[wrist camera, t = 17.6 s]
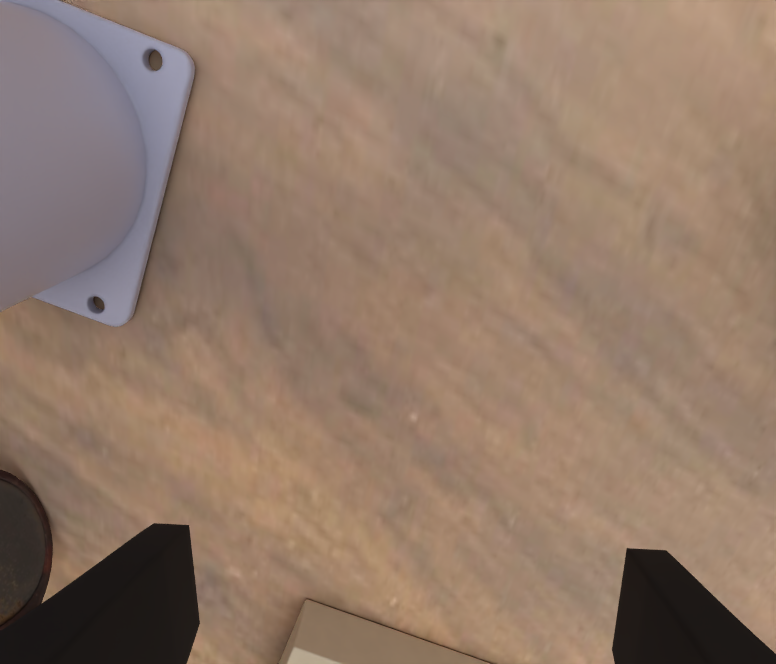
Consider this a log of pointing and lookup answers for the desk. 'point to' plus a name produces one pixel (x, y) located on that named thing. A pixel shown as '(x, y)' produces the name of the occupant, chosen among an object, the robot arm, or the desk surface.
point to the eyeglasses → (22, 550)
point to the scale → (358, 642)
